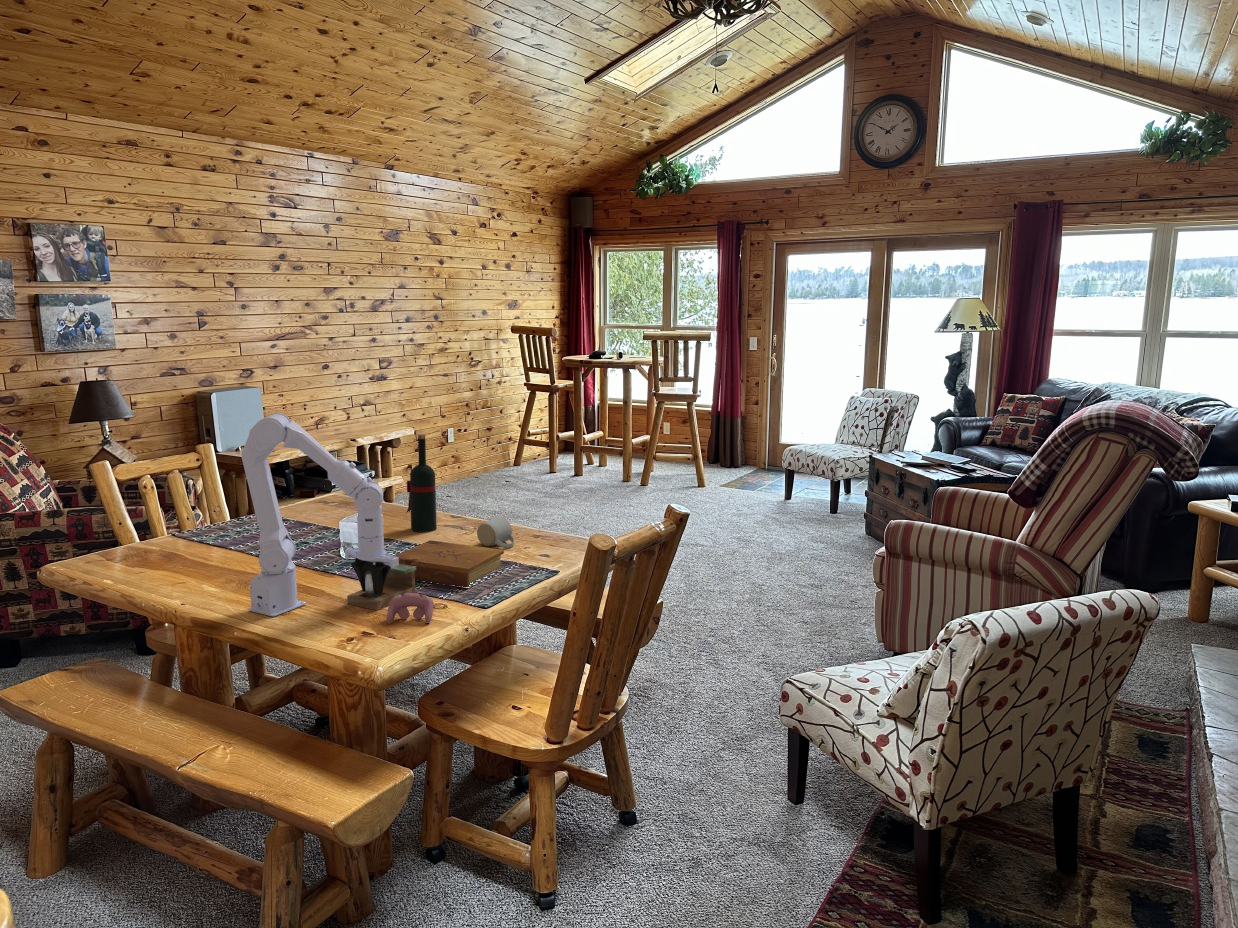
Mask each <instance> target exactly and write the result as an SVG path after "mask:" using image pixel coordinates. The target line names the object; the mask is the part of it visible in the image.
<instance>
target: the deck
mask: <svg viewBox="0 0 1238 928" xmlns="http://www.w3.org/2000/svg"><path fill="white" fill-rule="evenodd" d="M374 564H375V563H374ZM374 564H373V565H374ZM415 570H416V566H411V565H406V564H401V563H399V565H398V566H395V567H391V568H390V570H389V572H388V574H387V577H386V580H385V583H384V588H383V592H381V593H379V597H377V598H375V599H371V598H366V595H365V592H364V591H362V589H360V590H358V591H356V592H353V593H351V594H348V595H347V597H346V599H347V600H346V601H347V602H346V603H347V605H352V606H354V607H361V608H364V609H368V610H373V611H379V610H382V609H384V608H387V607H389V604H390V602H391V600H392V599H393V598H394V597H395V596H397V595H402V594H405V593H416V581H415Z"/></svg>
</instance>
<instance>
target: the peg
mask: <svg viewBox="0 0 1238 928" xmlns="http://www.w3.org/2000/svg"><path fill="white" fill-rule="evenodd" d="M365 595H366V598H371V599H375V598H377V597H379V594H374V590H373V580H372V575H371V572H370V571H367V572H365Z"/></svg>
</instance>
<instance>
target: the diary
mask: <svg viewBox="0 0 1238 928" xmlns="http://www.w3.org/2000/svg"><path fill="white" fill-rule="evenodd" d="M504 553H505V550H504V549H501V548H500V549H498V548H490V547H486V546H485V547H484V546H478V545H477V546H475V545H468V544H460V543H453V542H445V541H438V540H428V541H426V542H423V543H421V544H418V545H415V546H414V547H412V548H409V549H407V550H405V551H403V552H401V553H398V554H395V555H394V556H395V557H398V559H399V563H401V564H406V565H411V566H416V570H415V580H418V581H417V582H419V581H425V582H432V583H439V584H445V585H455V586H463V587H468V586H469V584H470V583H472V582H473V581H475V580H478V579H480V578H482V577H484V576H485V575H487V574H489V573H491V572H492V571H494V570H497V569H501V568H500V567H503V566H501V564H502V563H501V561H502V560H501V556H502V555H504ZM425 582H424V583H425ZM432 583H431V584H432ZM445 585H444V586H445Z"/></svg>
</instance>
